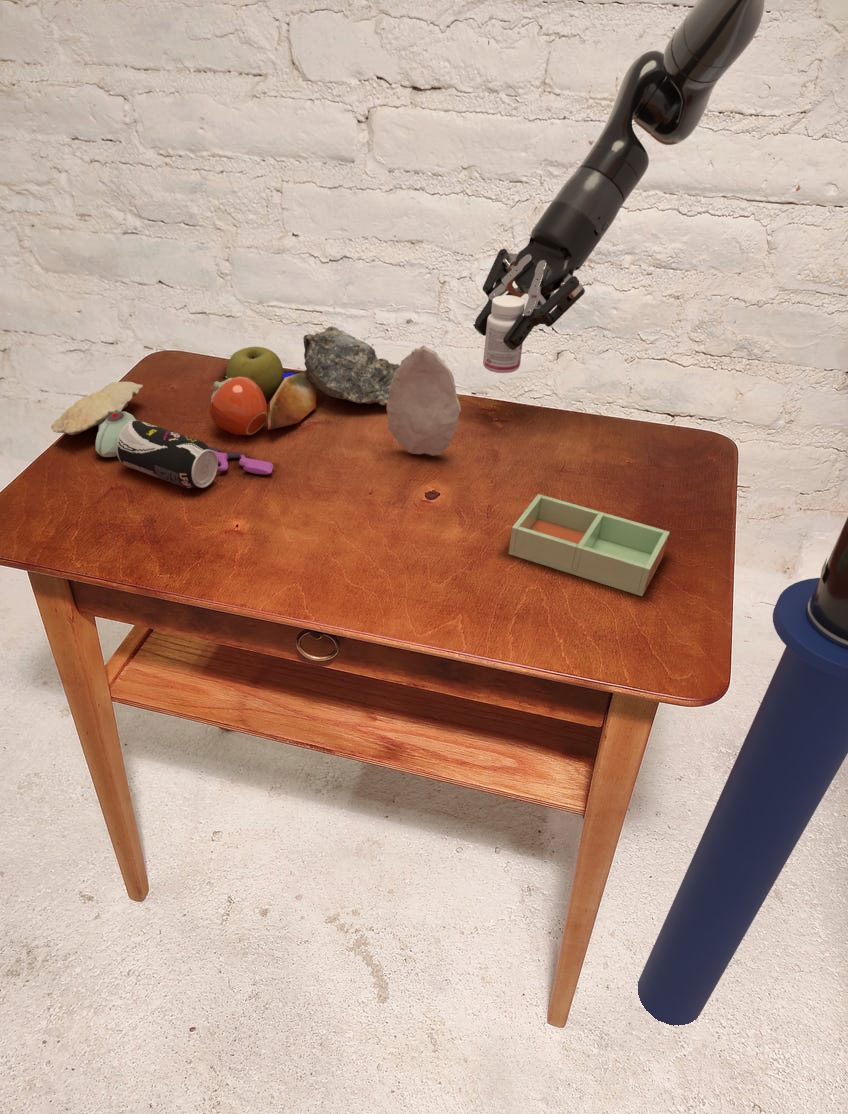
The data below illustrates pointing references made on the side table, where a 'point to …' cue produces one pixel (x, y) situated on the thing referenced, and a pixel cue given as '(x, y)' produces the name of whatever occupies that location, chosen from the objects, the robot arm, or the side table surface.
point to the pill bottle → (502, 334)
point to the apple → (257, 368)
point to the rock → (347, 367)
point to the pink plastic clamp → (243, 463)
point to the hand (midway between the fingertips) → (493, 338)
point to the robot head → (111, 433)
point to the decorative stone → (291, 401)
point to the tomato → (238, 406)
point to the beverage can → (166, 455)
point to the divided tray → (589, 544)
